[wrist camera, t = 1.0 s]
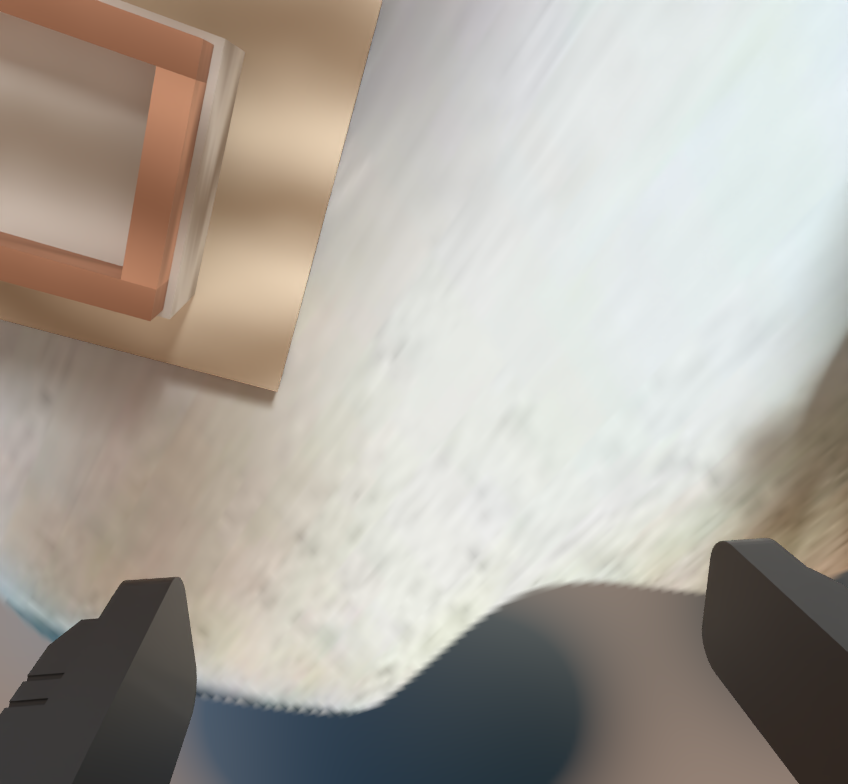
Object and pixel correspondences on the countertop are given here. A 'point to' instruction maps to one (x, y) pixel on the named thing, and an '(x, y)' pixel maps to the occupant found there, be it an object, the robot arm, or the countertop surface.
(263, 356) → the tower base
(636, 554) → the countertop surface
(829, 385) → the countertop surface
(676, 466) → the countertop surface
